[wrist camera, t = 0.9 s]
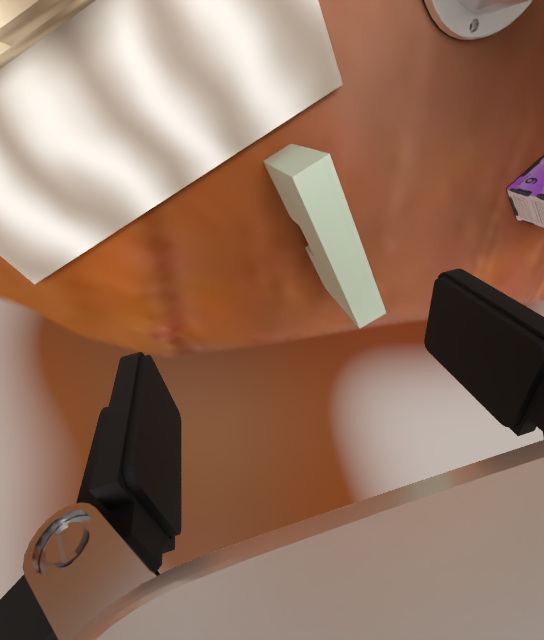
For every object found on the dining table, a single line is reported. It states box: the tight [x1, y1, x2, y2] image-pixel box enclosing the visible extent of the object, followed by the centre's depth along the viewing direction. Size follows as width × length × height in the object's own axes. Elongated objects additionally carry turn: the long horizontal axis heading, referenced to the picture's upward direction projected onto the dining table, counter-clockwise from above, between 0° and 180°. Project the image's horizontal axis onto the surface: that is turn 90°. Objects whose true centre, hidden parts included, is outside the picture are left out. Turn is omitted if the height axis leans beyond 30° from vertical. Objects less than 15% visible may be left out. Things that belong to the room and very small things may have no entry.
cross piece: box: [263, 144, 386, 328], centre depth 30 cm, size 16×3×9 cm, turn 28°
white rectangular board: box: [0, 0, 343, 284], centre depth 20 cm, size 32×22×6 cm
